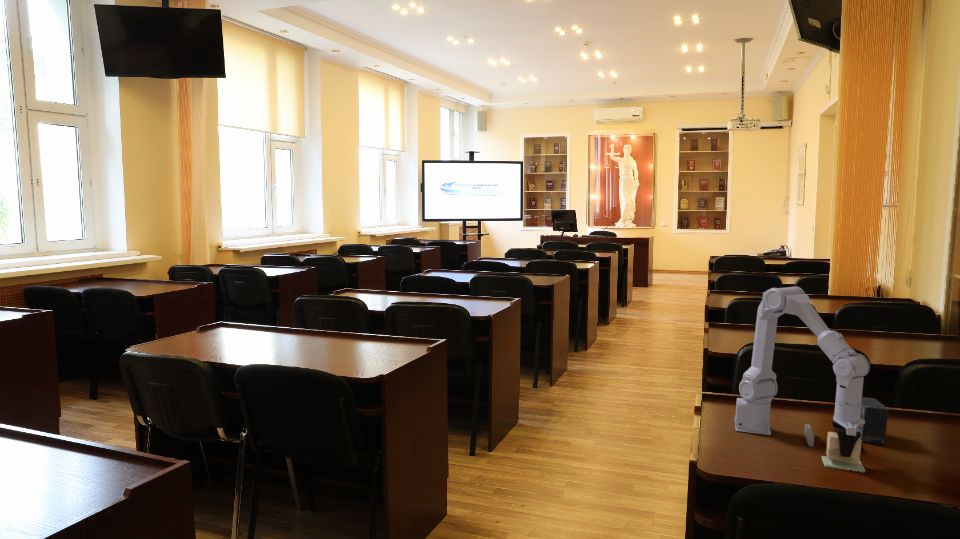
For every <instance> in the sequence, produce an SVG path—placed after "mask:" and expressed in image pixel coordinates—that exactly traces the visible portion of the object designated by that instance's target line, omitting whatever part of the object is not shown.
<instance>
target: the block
mask: <svg viewBox="0 0 960 539" xmlns="http://www.w3.org/2000/svg"><path fill="white" fill-rule="evenodd" d="M861 448H862V442H861V439H860V438H859V439H858V440H857V442H856V444H855V446H854V448H853V451H852V454H851V456H850V457H842V456H841V454H840V448H839V439H838V435H837V433H835V431H827V437H826V448H825V449H826V450H825V454H826V456H827V457H828V459H829V460H836V461H843V462H851V463H858V464H859V462H860V460H861V459H860V458H861V451H862V450H861Z"/></svg>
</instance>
